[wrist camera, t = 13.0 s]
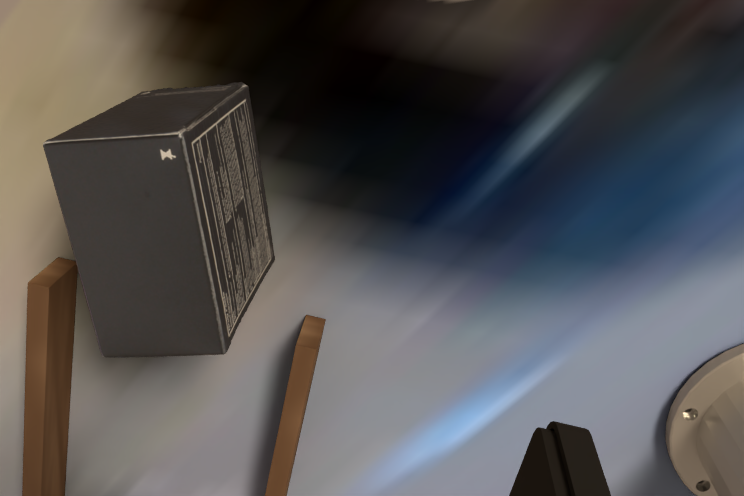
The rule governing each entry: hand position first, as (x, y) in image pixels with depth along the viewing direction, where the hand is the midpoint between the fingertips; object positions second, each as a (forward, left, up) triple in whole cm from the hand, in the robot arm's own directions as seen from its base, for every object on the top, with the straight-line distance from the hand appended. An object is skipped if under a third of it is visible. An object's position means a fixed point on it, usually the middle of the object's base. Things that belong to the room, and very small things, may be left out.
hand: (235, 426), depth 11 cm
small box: (+8, +7, -29) cm, 30 cm away
